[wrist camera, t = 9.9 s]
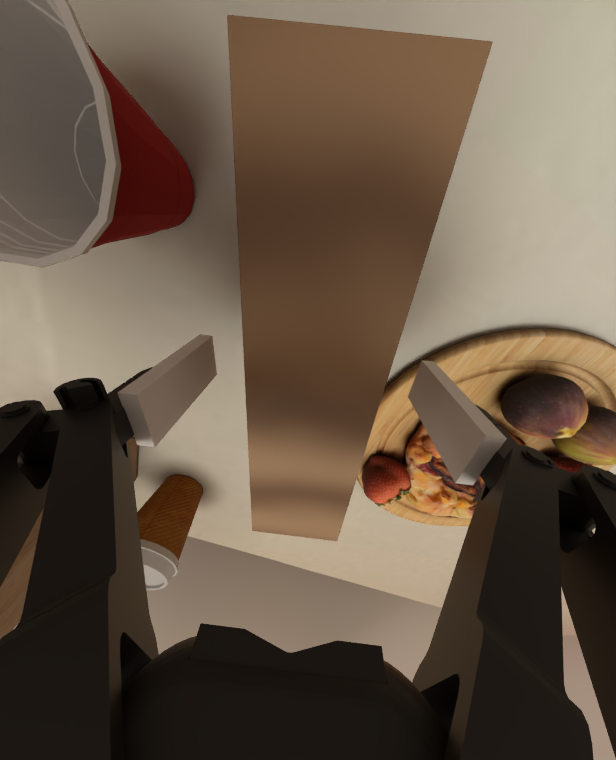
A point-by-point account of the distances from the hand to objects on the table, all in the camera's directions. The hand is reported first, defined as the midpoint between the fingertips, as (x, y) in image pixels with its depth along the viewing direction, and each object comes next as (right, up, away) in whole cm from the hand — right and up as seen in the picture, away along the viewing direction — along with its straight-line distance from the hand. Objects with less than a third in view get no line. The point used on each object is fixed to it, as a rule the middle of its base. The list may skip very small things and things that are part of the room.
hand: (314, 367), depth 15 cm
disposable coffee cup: (-21, -19, +24) cm, 37 cm away
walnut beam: (0, +2, +3) cm, 3 cm away
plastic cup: (-12, +15, +4) cm, 20 cm away
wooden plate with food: (+21, -9, +16) cm, 28 cm away
